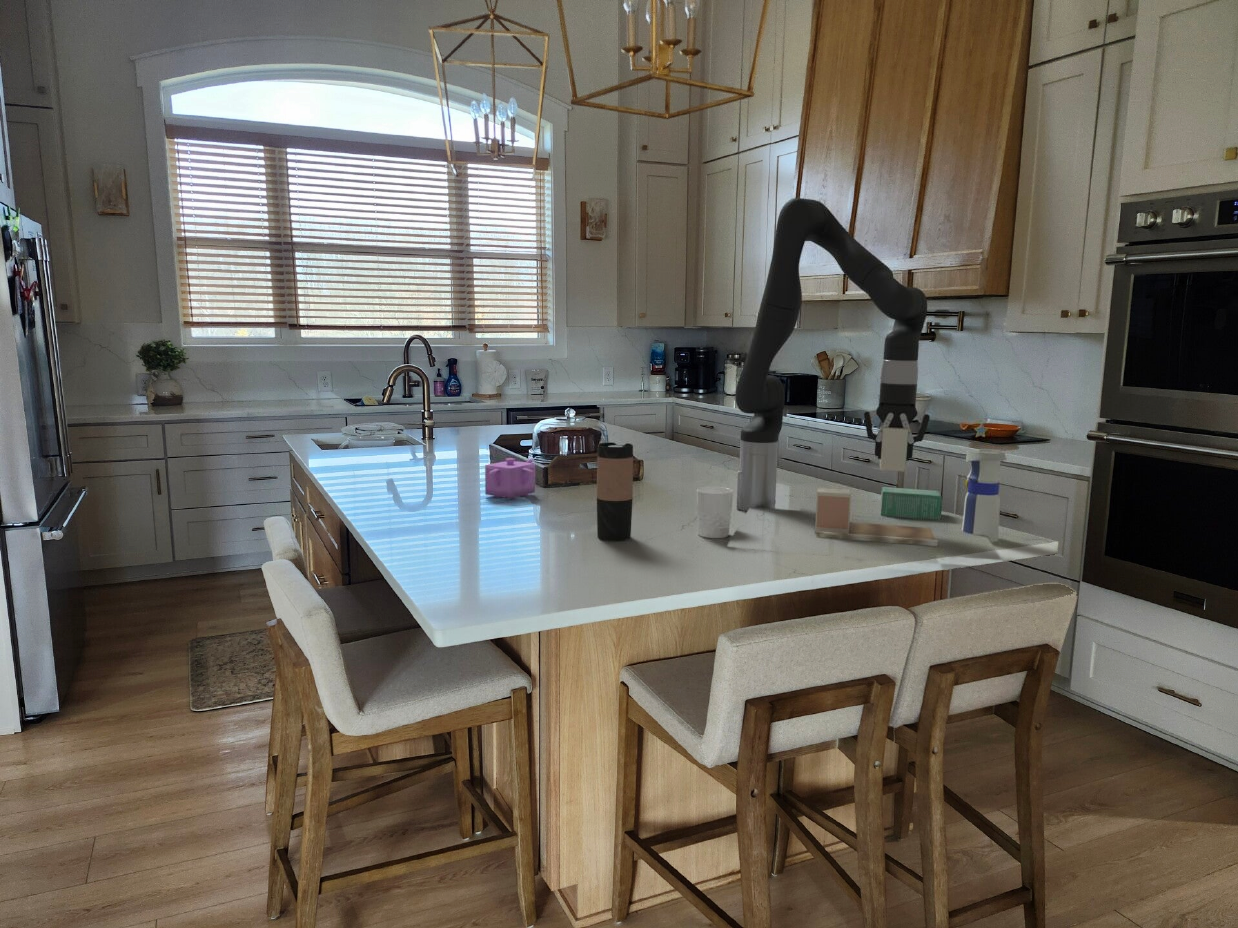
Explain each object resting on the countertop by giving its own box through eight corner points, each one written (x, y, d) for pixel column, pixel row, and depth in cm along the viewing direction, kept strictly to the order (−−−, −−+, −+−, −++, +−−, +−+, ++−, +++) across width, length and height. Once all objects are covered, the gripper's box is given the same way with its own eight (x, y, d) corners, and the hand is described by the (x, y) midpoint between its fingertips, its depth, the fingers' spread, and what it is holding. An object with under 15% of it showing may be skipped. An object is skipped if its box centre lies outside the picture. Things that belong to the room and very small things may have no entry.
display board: (816, 543, 183) (816, 532, 182) (819, 526, 199) (819, 515, 199) (936, 553, 177) (937, 541, 176) (929, 534, 193) (930, 523, 192)
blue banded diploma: (949, 535, 192) (957, 423, 188) (978, 532, 196) (987, 422, 192) (977, 543, 185) (987, 427, 181) (1007, 540, 188) (1017, 426, 184)
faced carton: (814, 533, 186) (817, 491, 184) (815, 527, 191) (818, 487, 189) (848, 535, 184) (851, 494, 183) (848, 530, 189) (851, 489, 187)
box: (940, 526, 202) (942, 494, 200) (879, 522, 205) (881, 491, 204) (937, 519, 209) (939, 489, 207) (878, 516, 212) (880, 486, 211)
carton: (905, 471, 185) (908, 429, 184) (880, 469, 186) (883, 428, 185) (903, 466, 192) (907, 426, 190) (879, 464, 193) (882, 424, 192)
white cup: (734, 532, 192) (736, 488, 190) (727, 540, 184) (728, 494, 183) (700, 529, 194) (701, 485, 193) (691, 537, 187) (692, 491, 185)
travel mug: (606, 542, 181) (607, 447, 177) (590, 534, 187) (591, 443, 184) (638, 539, 184) (640, 446, 181) (621, 531, 191) (623, 441, 188)
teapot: (515, 488, 240) (514, 452, 238) (555, 494, 232) (555, 456, 231) (470, 498, 225) (470, 460, 223) (512, 505, 217) (512, 465, 216)
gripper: (864, 381, 184) (858, 460, 187) (935, 383, 180) (929, 464, 183) (864, 379, 191) (858, 455, 194) (932, 381, 188) (926, 459, 190)
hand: (893, 459), depth 189 cm, fingers closed on carton, 5 cm apart
